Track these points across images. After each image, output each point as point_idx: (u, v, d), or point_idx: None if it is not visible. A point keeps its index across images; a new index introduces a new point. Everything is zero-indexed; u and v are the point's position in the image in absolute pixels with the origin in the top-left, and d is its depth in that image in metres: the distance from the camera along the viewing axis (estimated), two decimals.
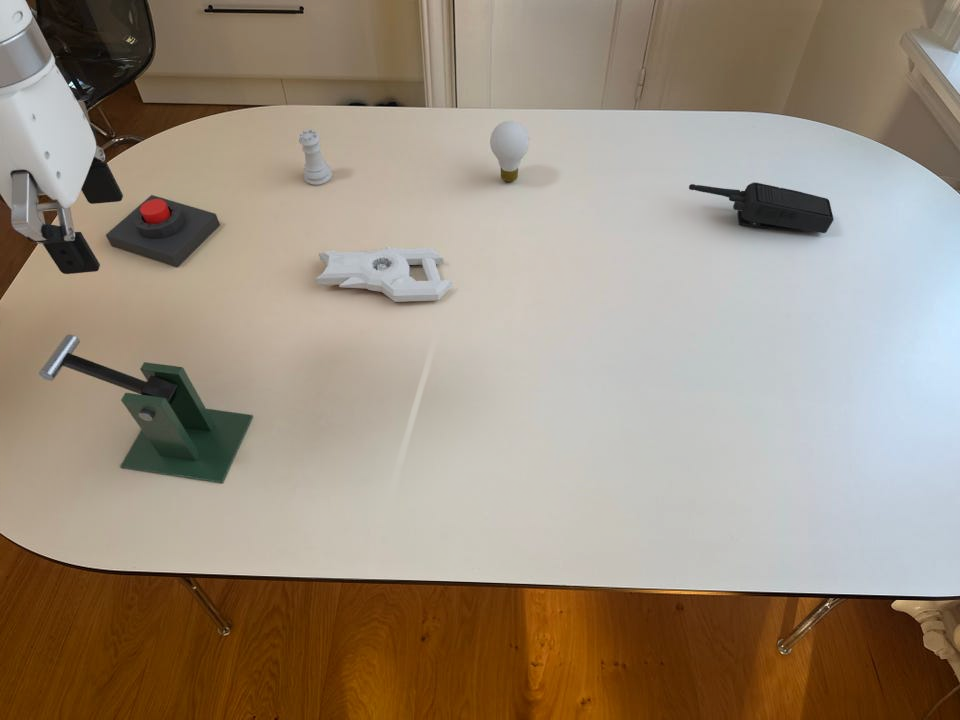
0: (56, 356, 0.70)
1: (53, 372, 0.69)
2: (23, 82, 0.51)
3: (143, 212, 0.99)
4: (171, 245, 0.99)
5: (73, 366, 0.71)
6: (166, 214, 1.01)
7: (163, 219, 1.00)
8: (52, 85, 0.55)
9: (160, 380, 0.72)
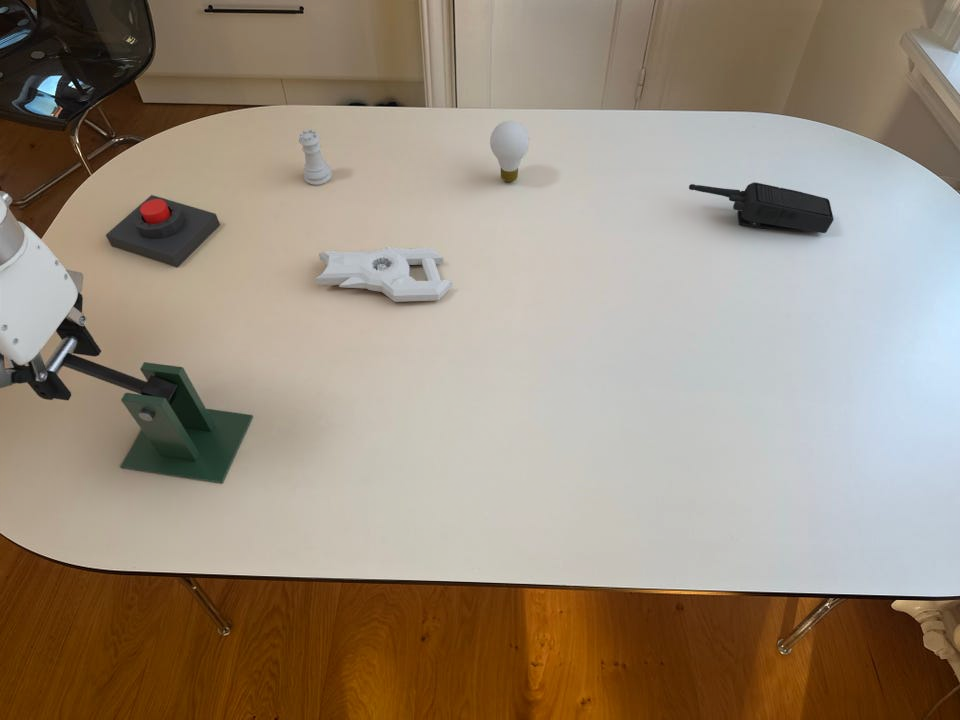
0: (56, 356, 0.70)
1: None
2: None
3: (143, 212, 0.99)
4: (171, 245, 0.99)
5: (73, 366, 0.71)
6: (166, 214, 1.01)
7: (163, 219, 1.00)
8: (25, 263, 0.62)
9: (160, 380, 0.72)
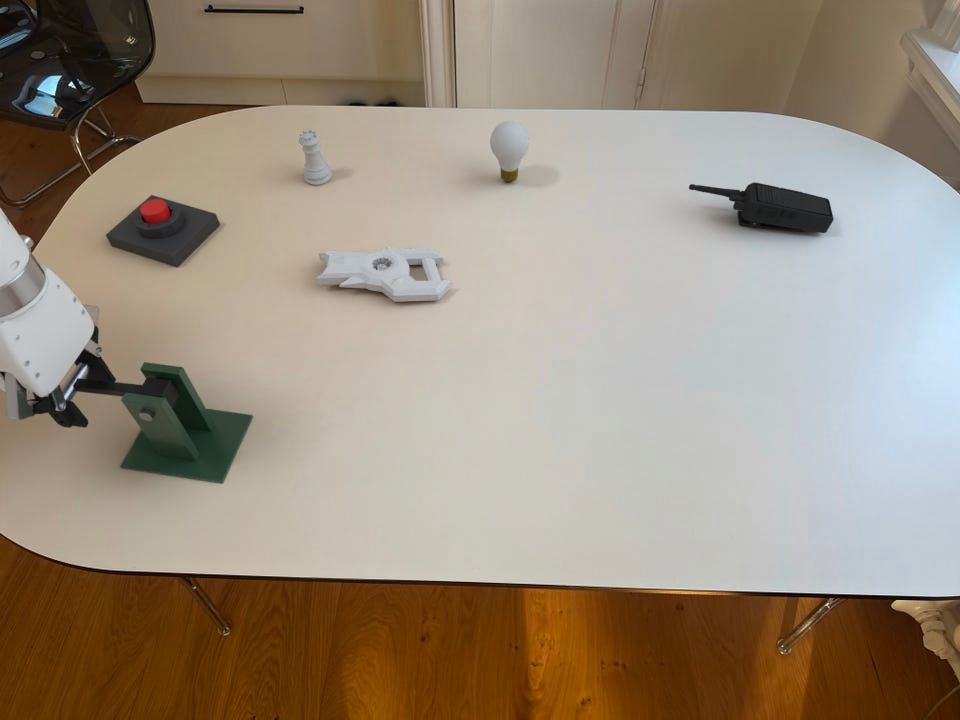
0: (67, 383, 0.74)
1: (64, 397, 0.73)
2: (10, 315, 0.62)
3: (143, 212, 0.99)
4: (171, 245, 0.99)
5: (83, 388, 0.74)
6: (166, 214, 1.01)
7: (163, 219, 1.00)
8: (46, 302, 0.66)
9: (154, 380, 0.73)
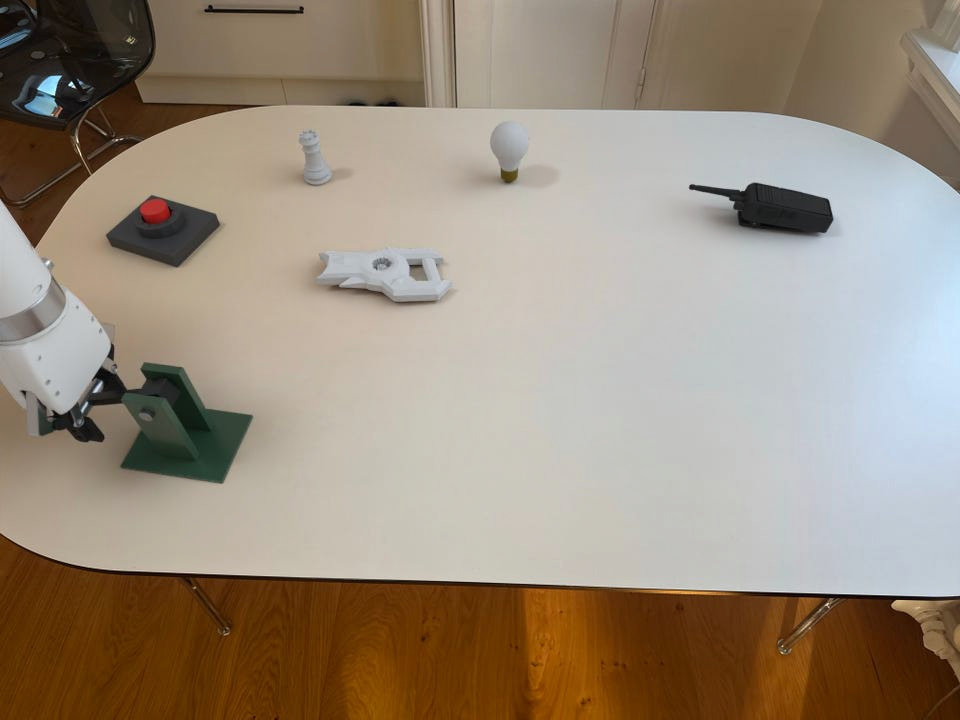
0: (81, 399, 0.76)
1: None
2: (32, 336, 0.64)
3: (143, 212, 0.99)
4: (171, 245, 0.99)
5: (96, 401, 0.76)
6: (166, 214, 1.01)
7: (163, 219, 1.00)
8: (66, 323, 0.68)
9: (152, 380, 0.73)
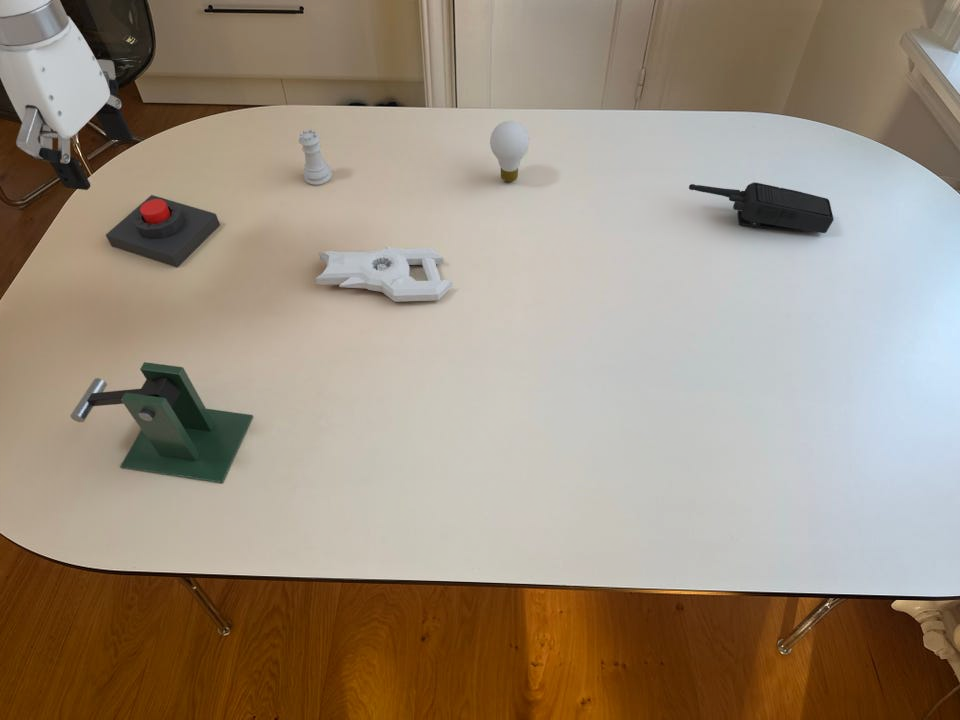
0: (82, 399, 0.76)
1: (79, 412, 0.75)
2: (37, 43, 0.70)
3: (143, 212, 0.99)
4: (171, 245, 0.99)
5: (96, 402, 0.76)
6: (166, 214, 1.01)
7: (163, 219, 1.00)
8: (69, 48, 0.74)
9: (152, 380, 0.73)
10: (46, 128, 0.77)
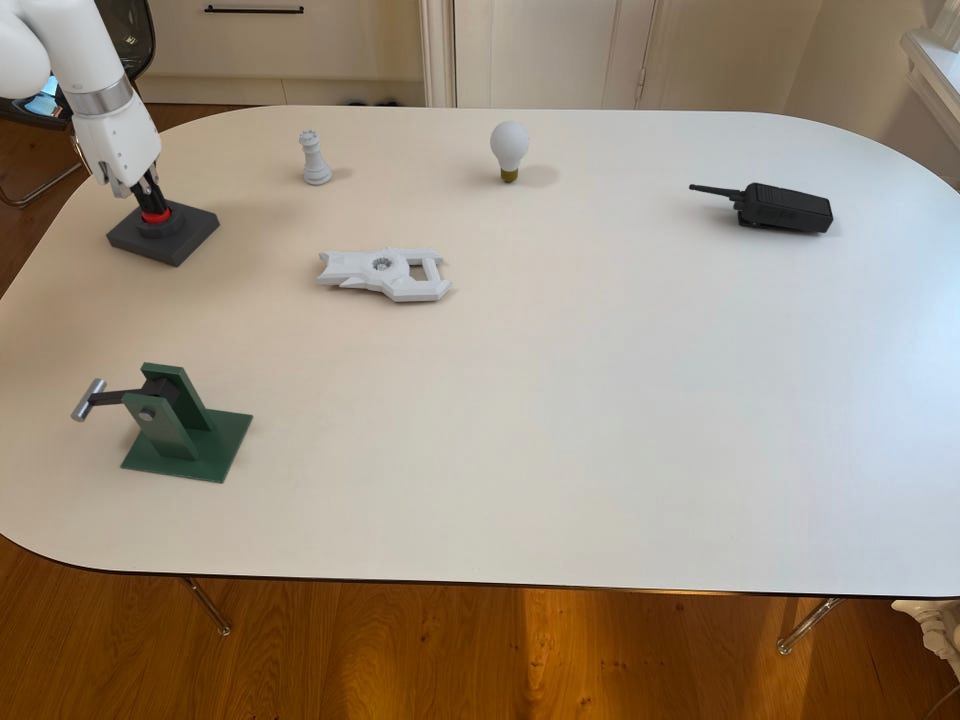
0: (82, 399, 0.76)
1: (79, 412, 0.75)
2: (110, 112, 0.85)
3: (145, 216, 1.00)
4: (171, 245, 0.99)
5: (96, 402, 0.76)
6: None
7: None
8: (132, 112, 0.89)
9: (152, 380, 0.73)
10: None
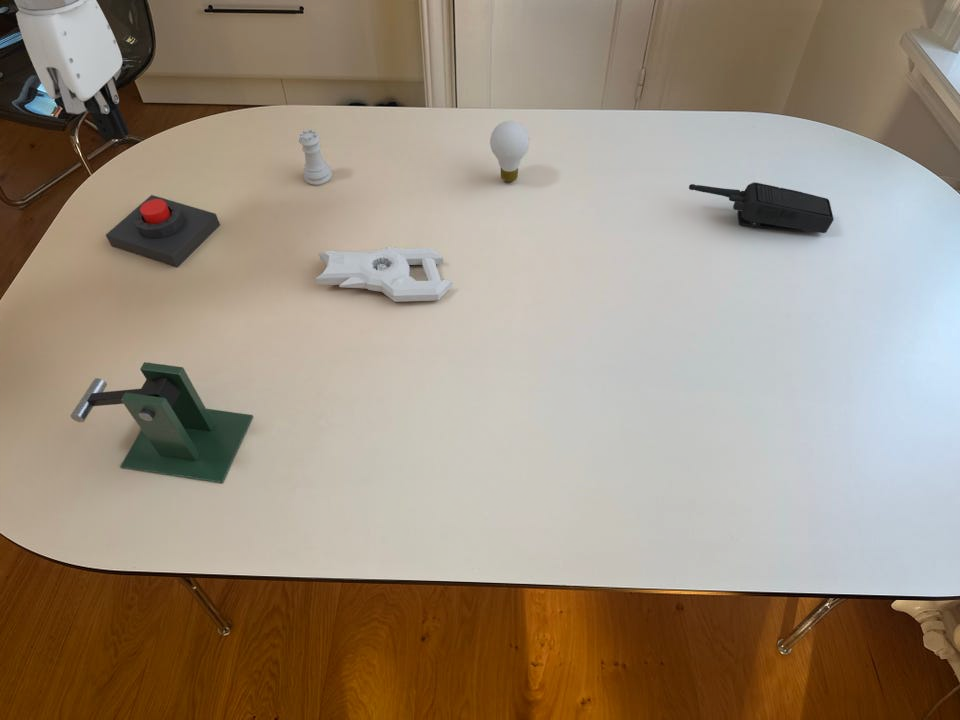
0: (82, 399, 0.76)
1: (79, 412, 0.75)
2: (60, 8, 0.76)
3: (143, 212, 0.99)
4: (171, 245, 0.99)
5: (96, 402, 0.76)
6: (166, 214, 1.01)
7: (163, 219, 1.00)
8: (87, 15, 0.80)
9: (152, 380, 0.73)
10: None
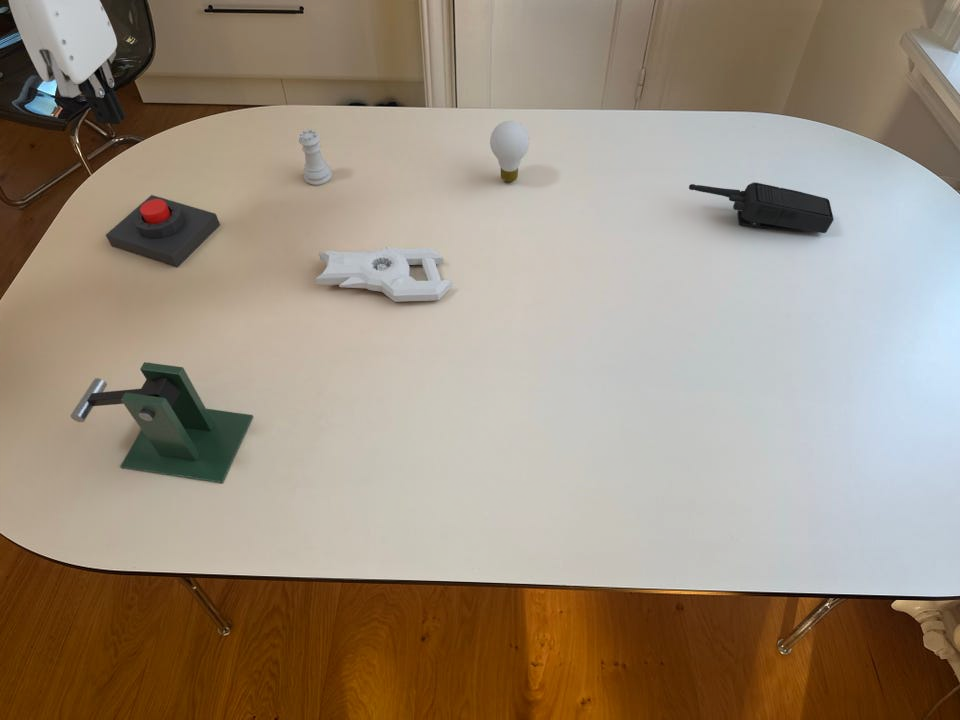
0: (82, 399, 0.76)
1: (79, 412, 0.75)
2: None
3: (143, 212, 0.99)
4: (171, 245, 0.99)
5: (96, 402, 0.76)
6: (166, 214, 1.01)
7: (163, 219, 1.00)
8: None
9: (152, 380, 0.73)
10: None
